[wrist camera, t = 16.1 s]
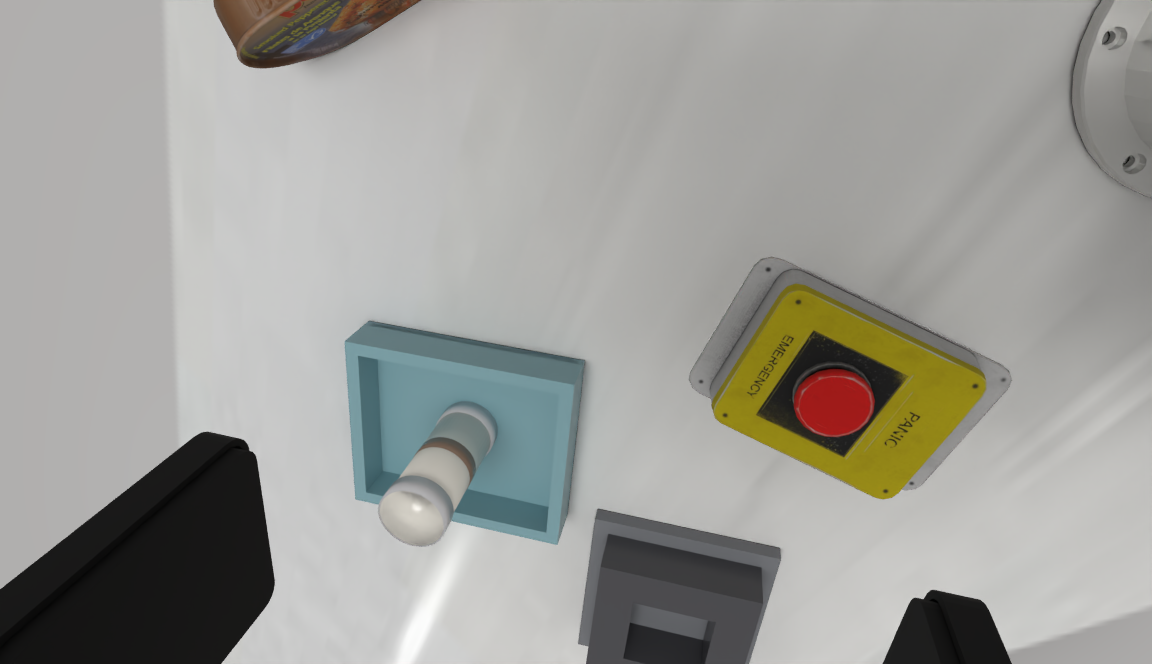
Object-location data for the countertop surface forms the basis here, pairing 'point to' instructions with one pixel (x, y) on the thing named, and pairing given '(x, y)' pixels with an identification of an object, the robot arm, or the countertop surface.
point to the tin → (300, 26)
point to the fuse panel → (672, 594)
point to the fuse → (438, 475)
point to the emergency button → (842, 381)
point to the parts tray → (476, 374)
